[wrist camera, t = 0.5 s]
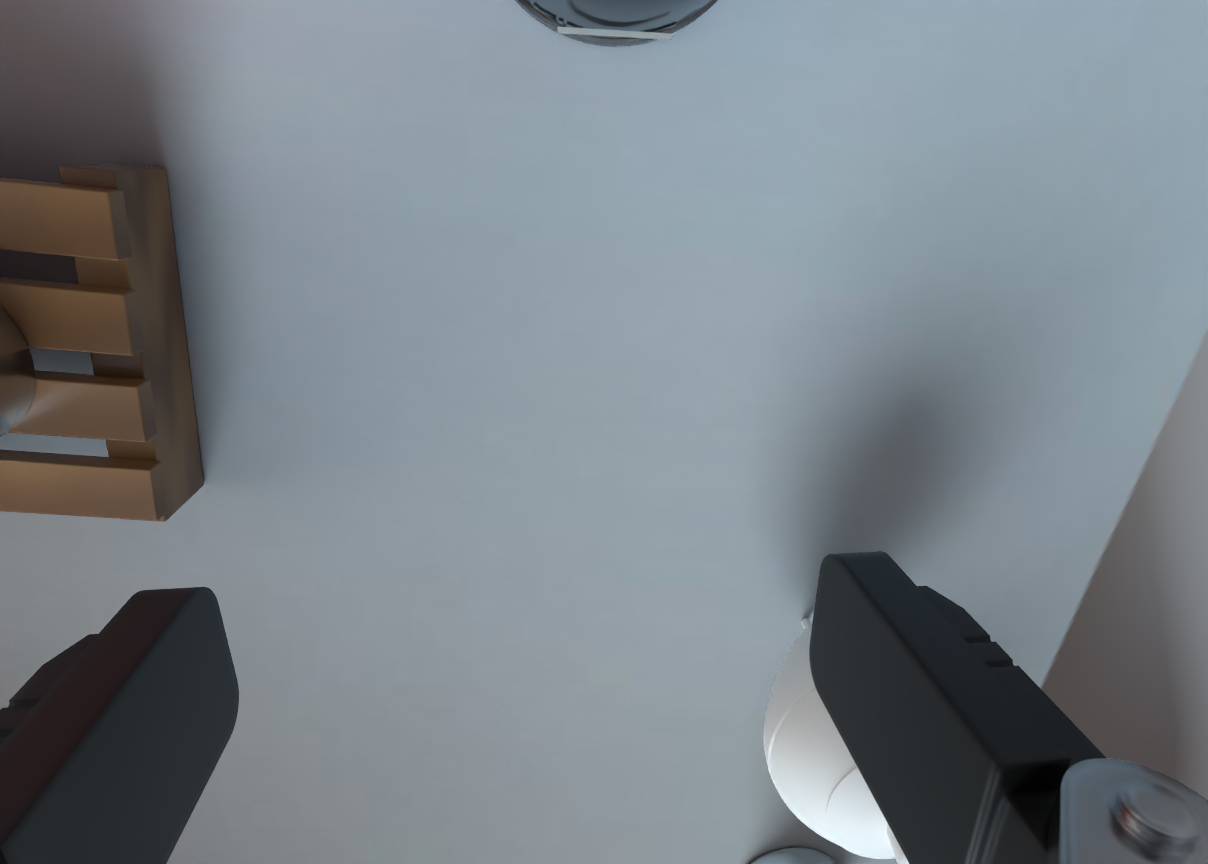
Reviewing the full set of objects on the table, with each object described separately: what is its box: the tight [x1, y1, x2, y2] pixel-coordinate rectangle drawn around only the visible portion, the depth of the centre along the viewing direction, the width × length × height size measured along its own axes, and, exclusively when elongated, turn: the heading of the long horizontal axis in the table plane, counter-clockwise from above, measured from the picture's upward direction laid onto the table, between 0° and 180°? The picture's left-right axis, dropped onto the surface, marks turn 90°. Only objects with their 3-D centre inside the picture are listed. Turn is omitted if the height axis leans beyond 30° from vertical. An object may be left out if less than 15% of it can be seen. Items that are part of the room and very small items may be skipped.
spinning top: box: [763, 618, 909, 864], centre depth 27 cm, size 8×8×12 cm
